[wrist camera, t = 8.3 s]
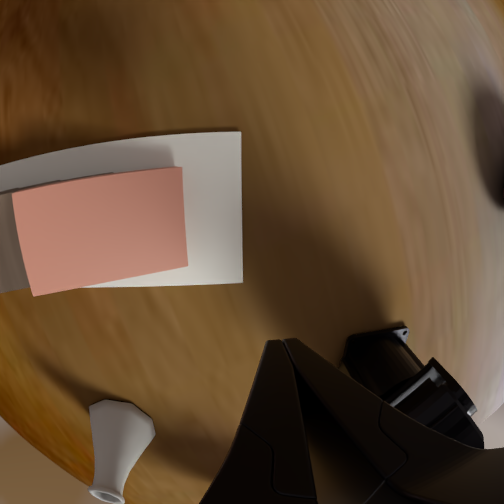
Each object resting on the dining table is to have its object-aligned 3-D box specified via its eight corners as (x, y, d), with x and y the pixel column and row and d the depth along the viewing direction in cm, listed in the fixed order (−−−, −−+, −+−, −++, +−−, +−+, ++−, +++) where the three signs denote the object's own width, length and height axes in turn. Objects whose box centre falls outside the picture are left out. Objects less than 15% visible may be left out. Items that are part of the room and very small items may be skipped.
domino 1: (113, 173, 15) (-30, 203, 11) (125, 268, 17) (-10, 294, 13) (112, 172, 17) (-22, 199, 12) (122, 260, 19) (-4, 285, 14)
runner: (240, 132, 17) (240, 131, 17) (242, 280, 21) (242, 282, 20) (-23, 172, 15) (-26, 173, 15) (-2, 284, 18) (-4, 286, 18)
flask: (79, 398, 23) (51, 473, 14) (136, 394, 24) (117, 483, 14) (112, 438, 26) (97, 507, 17) (166, 436, 26) (160, 513, 17)
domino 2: (182, 167, 16) (11, 193, 11) (188, 266, 18) (33, 296, 13) (175, 166, 17) (18, 190, 13) (181, 258, 19) (37, 285, 15)
